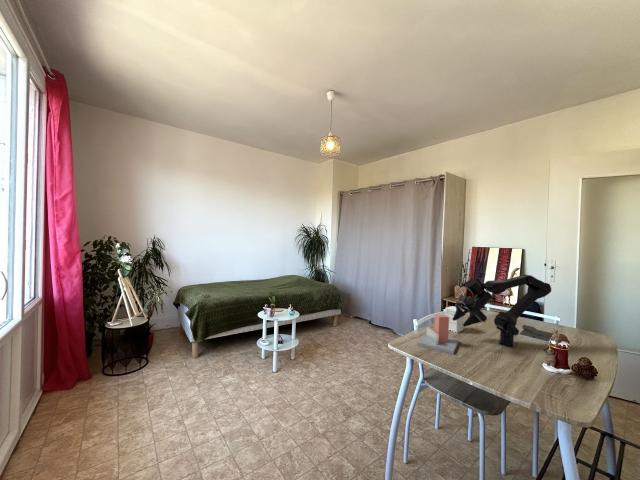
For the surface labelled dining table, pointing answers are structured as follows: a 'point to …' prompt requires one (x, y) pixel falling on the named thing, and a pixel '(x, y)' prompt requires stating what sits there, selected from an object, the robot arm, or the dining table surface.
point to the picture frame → (534, 334)
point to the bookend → (432, 335)
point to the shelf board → (439, 344)
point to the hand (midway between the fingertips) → (458, 323)
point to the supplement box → (457, 324)
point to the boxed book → (442, 327)
